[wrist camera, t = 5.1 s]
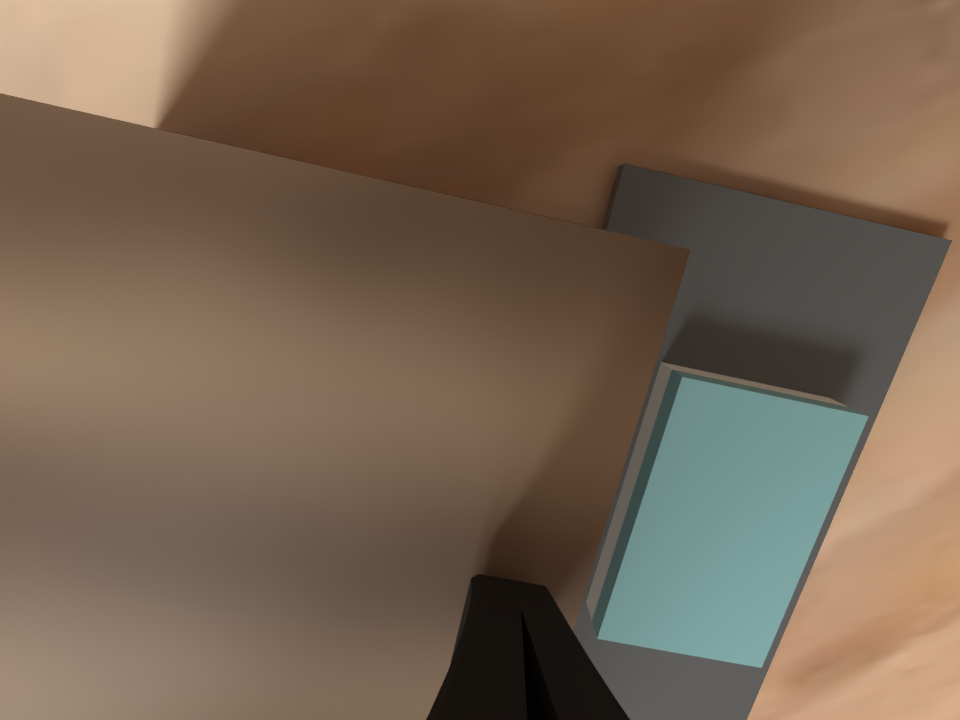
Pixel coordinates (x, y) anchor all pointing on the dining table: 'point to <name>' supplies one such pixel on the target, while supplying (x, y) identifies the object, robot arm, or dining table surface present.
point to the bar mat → (761, 363)
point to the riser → (288, 421)
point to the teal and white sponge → (718, 514)
